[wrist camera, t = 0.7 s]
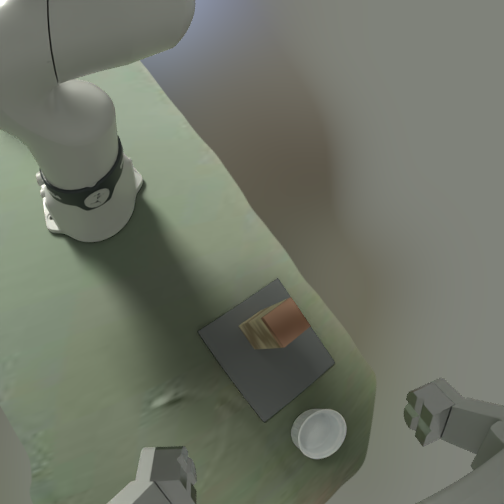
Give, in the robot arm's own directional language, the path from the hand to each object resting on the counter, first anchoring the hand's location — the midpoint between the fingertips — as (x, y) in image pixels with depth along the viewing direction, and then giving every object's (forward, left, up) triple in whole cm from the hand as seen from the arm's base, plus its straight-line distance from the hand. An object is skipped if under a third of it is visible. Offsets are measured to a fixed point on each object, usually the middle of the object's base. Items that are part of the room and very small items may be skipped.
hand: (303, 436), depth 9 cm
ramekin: (+20, +10, -38) cm, 44 cm away
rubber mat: (+4, +12, -37) cm, 39 cm away
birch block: (0, +12, -37) cm, 39 cm away
